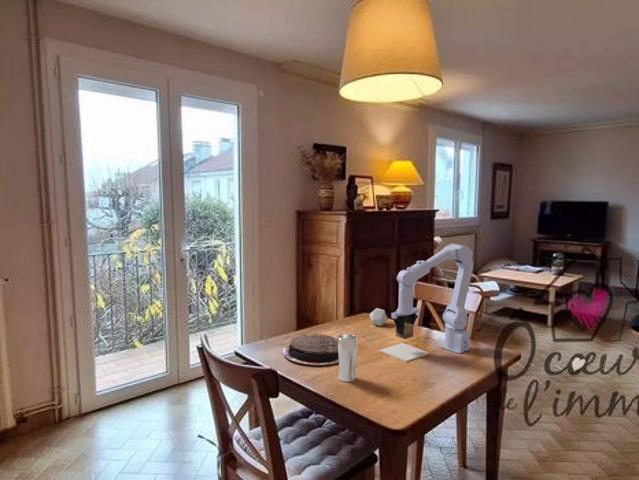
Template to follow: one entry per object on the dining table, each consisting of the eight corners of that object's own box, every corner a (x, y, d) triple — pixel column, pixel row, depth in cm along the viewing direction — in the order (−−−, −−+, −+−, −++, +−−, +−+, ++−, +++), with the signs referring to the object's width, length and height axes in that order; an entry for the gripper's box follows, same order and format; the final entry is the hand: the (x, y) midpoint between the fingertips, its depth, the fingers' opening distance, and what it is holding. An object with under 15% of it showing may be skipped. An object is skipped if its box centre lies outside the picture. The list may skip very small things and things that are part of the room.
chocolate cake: (360, 348, 177) (361, 333, 177) (335, 373, 152) (335, 355, 151) (301, 338, 189) (301, 324, 188) (269, 360, 164) (269, 343, 163)
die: (390, 326, 208) (387, 308, 213) (384, 322, 202) (381, 303, 206) (375, 330, 211) (372, 312, 216) (369, 326, 204) (366, 307, 209)
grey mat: (428, 353, 171) (428, 352, 170) (406, 362, 162) (406, 360, 162) (402, 344, 182) (402, 342, 181) (379, 351, 173) (379, 349, 173)
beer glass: (344, 372, 152) (345, 332, 150) (360, 377, 148) (361, 336, 146) (332, 378, 147) (333, 337, 145) (349, 384, 142) (349, 341, 141)
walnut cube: (413, 336, 171) (413, 324, 170) (404, 339, 168) (405, 327, 167) (403, 333, 175) (404, 321, 174) (395, 335, 172) (395, 323, 171)
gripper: (409, 295, 177) (408, 327, 178) (386, 300, 168) (385, 333, 170) (423, 299, 172) (422, 331, 173) (399, 304, 163) (398, 338, 164)
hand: (404, 332), depth 171 cm, fingers closed on walnut cube, 5 cm apart
